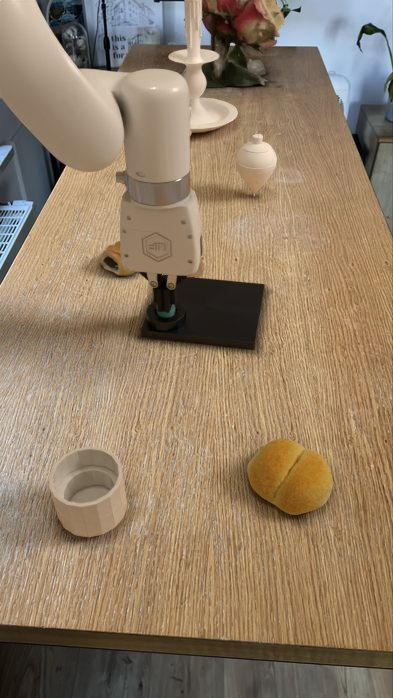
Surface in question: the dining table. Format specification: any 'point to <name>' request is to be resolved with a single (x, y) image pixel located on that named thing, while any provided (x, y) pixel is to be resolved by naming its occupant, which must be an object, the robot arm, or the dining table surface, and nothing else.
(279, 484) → the bread roll
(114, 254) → the pastry
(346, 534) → the dining table surface
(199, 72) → the candlestick
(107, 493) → the beige cup
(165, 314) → the button
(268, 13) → the rose bouquet
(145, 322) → the scale
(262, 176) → the spinning top
